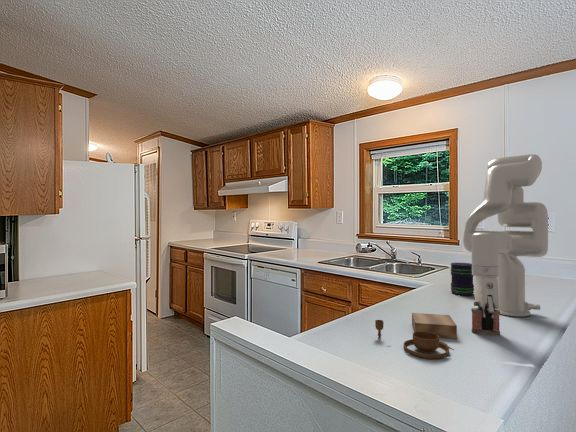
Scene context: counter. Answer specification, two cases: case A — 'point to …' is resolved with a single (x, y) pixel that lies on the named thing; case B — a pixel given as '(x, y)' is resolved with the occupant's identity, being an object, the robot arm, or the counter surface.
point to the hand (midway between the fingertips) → (485, 327)
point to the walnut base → (435, 324)
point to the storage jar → (462, 279)
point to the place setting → (421, 343)
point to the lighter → (477, 321)
